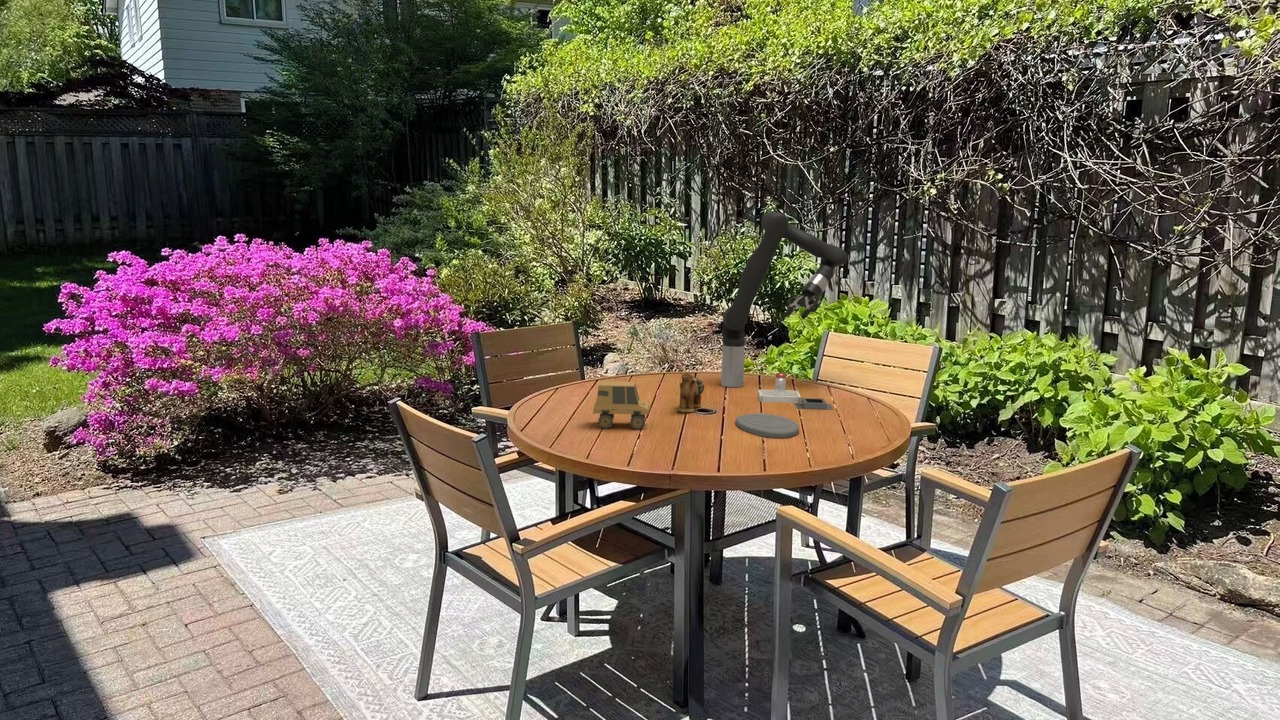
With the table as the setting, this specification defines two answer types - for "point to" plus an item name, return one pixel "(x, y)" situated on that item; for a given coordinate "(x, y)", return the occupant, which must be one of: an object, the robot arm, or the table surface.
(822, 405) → the hitch
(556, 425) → the table surface
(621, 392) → the toy car
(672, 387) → the table surface
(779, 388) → the pin
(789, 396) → the tray
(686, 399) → the figurine
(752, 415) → the frisbee
